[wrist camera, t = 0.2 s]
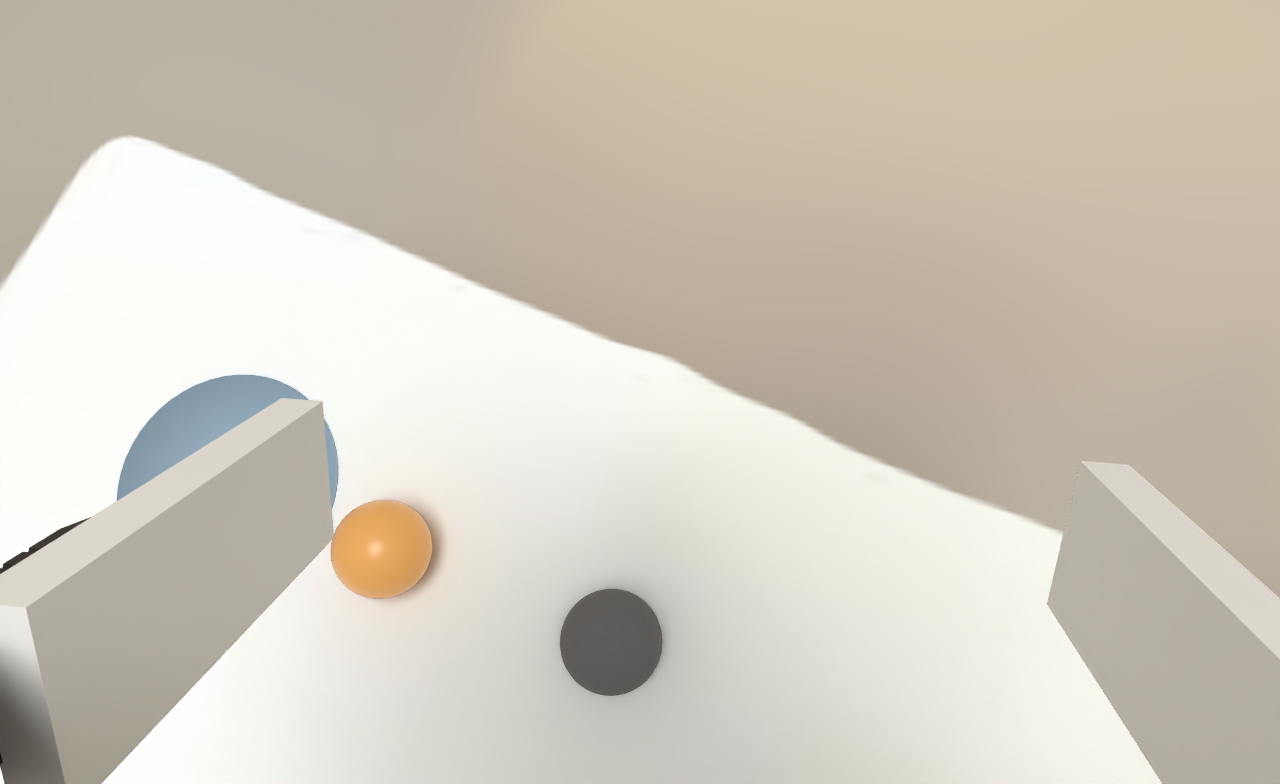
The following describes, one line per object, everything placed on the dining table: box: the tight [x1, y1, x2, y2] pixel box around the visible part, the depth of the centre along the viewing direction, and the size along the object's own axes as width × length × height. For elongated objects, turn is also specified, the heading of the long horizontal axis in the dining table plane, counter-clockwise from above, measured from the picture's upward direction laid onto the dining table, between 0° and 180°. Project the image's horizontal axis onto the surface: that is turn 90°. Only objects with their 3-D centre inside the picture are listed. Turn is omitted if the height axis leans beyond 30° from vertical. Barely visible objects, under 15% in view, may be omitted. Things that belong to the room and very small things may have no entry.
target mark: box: [117, 375, 338, 509], centre depth 51 cm, size 14×14×1 cm
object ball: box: [331, 500, 432, 599], centre depth 47 cm, size 6×6×6 cm
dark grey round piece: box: [560, 589, 662, 696], centre depth 45 cm, size 6×6×6 cm
